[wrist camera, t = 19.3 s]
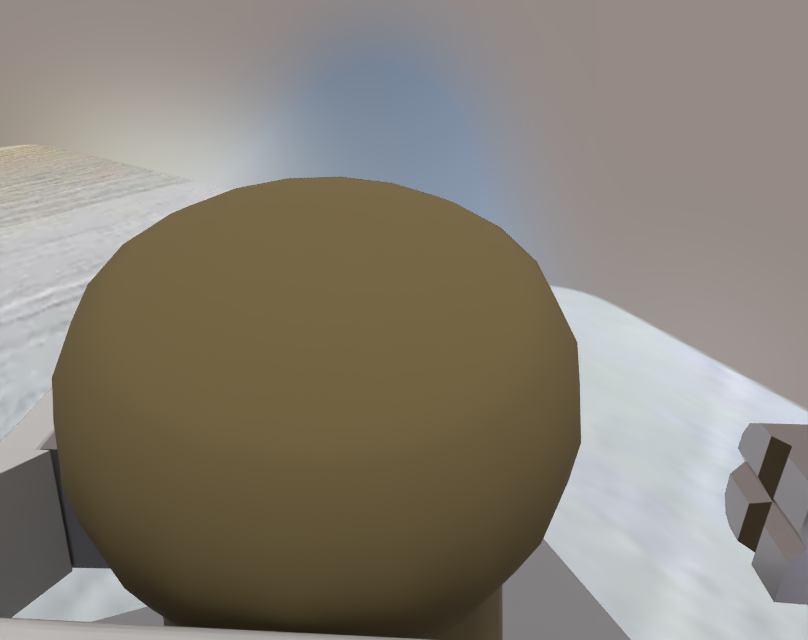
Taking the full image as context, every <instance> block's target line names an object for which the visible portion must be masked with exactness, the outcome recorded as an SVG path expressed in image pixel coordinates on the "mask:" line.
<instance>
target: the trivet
mask: <svg viewBox="0 0 808 640" xmlns="http://www.w3.org/2000/svg"><path fill="white" fill-rule="evenodd" d="M502 605H503V640H630V638H629V637H628V636H627V635H626V634H625V633H624V631H623V630H622V629H621V628H620V627H619V626H618V624H617V623H616V622H615V621H614V620H613V619H612V618H611V616H610V615H609V614H608V613H607V612H606V611H605V609H604V608H603V607H602V606H601V605H600V604H599V602H598V601H597V600H596V599H595V598H594V597H593V596H592V594H591V593H590V592H589V591H588V590H587V589H586V587H585V586H584V585H583V584H582V583H581V582H580V581H579V579H578V578H577V577H576V576H575V575H574V574H573V572H572V571H571V570H570V569H569V568H568V567H567V565H566V564H565V563H564V562H563V561H562V560H561V559H560V557H559V556H558V555H557V554H556V553H555V552H554V550H553V549H552V548H551V547H550V546H549V545H548V543H547V542H546V541H545V540H544V539H543V540H542V542H541V544H540V545H539V546H538V548H537V549H536V550H535V551H534V552H533V553H532V554H531V555H530V556H529V558H528V559H527V560H526V561H525V562H524V563H523V564H522V565H521V566H520V568H519V569H518V570H517V571H516V572H515V573H514V574H513V575H512V576H511V577H510V578H509V579H508V580H507V581H506V582H505V583H504V584H503V585H502ZM94 622H99V623H118V624H138V625H157V626H164V619H163V616H161V615H160V614H158V613H157V612H155V611H153V610H152V609H151V608H149V607H145V608H142V609H138V610H134V611H131V612H127V613H123V614H119V615H116V616H112V617H108V618H105V619H101V620H97V621H94Z"/></svg>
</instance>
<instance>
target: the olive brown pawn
mask: <svg viewBox="0 0 808 640" xmlns="http://www.w3.org/2000/svg"><path fill="white" fill-rule="evenodd" d="M52 394H53V423H54V430H55V437H56V444H57V451H58V458H59V465H60V472H61V479H62V486H63V489H64V491H65V493H66V495H67V498H68V500H69V502H70V504H71V506H72V508H73V510H74V512H75V514H76V516H77V518H78V520H79V522H80V525H81V527H82V528H83V530H84V531H85V532H86V534H87V535H88V537H89V538H90V540H91V541H92V542H93V544H94V545H95V547H96V548H97V550H98V551H99V552H100V554H101V555H102V557H103V558H104V560H105V561H106V562H107V564H108V565H109V567H110V568H111V570H112V571H113V572H114V574H115V575H116V577H117V578H118V580H119V581H120V582H121V584H122V585H123V587H124V588H125V589H126V590H128V591H129V592H130V593H131V594H133V595H134V596H135V597H137V598H138V599H139V600H140V601H142V602H143V603H144V604H145V605H147V606H148V607H149V608H151V609H152V610H153V611H155V612H157V613H158V614H160V615H161V616H163V619H164V626H177V627H196V628H216V629H235V630H255V631H275V632H294V633H314V634H333V635H353V636H372V637H392V638H411V639H431V640H503V605H502V585H503V584H504V583H505V582H506V581H507V580H508V579H509V578H510V577H511V576H512V575H513V574H514V573H515V572H516V571H517V570H518V569H519V568H520V566H521V565H522V564H523V563H524V562H525V561H526V560H527V559H528V558H529V556H530V555H531V554H532V553H533V552H534V551H535V550H536V549H537V548H538V546H539V545H540V544H541V542H542V540H543V538H544V535H545V533H546V531H547V529H548V526H549V524H550V522H551V519H552V517H553V515H554V512H555V510H556V508H557V506H558V503H559V501H560V499H561V496H562V494H563V492H564V490H565V487H566V485H567V483H568V480H569V477H570V474H571V471H572V468H573V465H574V462H575V459H576V456H577V453H578V450H579V447H580V444H581V425H580V381H579V365H578V348H577V341H576V339H575V337H574V335H573V333H572V331H571V329H570V327H569V325H568V323H567V321H566V319H565V317H564V314H563V312H562V310H561V308H560V306H559V304H558V302H557V300H556V298H555V296H554V294H553V292H552V290H551V288H550V286H549V284H548V282H547V281H546V279H545V277H544V275H543V273H542V271H541V269H540V267H539V265H538V263H537V261H536V260H534V259H533V258H532V257H531V256H530V255H529V254H528V253H527V252H526V251H525V250H524V249H523V248H522V247H521V246H520V245H519V244H518V243H517V242H515V241H514V240H513V239H512V238H511V237H510V236H509V235H508V234H507V233H506V232H505V231H504V230H503V229H502V228H500V227H499V226H497V225H495V224H493V223H491V222H489V221H488V220H486V219H484V218H482V217H480V216H478V215H476V214H474V213H473V212H471V211H469V210H467V209H465V208H463V207H461V206H460V205H458V204H456V203H453V202H451V201H448V200H446V199H443V198H440V197H437V196H434V195H431V194H427V193H424V192H420V191H417V190H413V189H410V188H407V187H403V186H400V185H397V184H393V183H388V182H379V181H371V180H363V179H355V178H346V177H319V178H293V179H292V178H290V179H283V180H278V181H272V182H267V183H262V184H257V185H251V186H246V187H241V188H236V189H233V190H230V191H228V192H225V193H222V194H220V195H217V196H215V197H212V198H209V199H207V200H204V201H201V202H199V203H196V204H193V205H191V206H188V207H186V208H183V209H181V210H179V211H176V212H174V213H172V214H170V215H168V216H167V217H165V218H164V219H162V220H160V221H159V222H157V223H156V224H154V225H153V226H151V227H150V228H148V229H146V230H145V231H143V232H142V233H140V234H139V235H137V236H136V237H134V238H132V239H131V240H129V241H128V242H126V243H125V244H123V245H122V246H121V247H120V249H119V250H118V251H117V252H116V253H115V254H114V255H113V257H112V258H111V259H110V260H109V261H108V262H107V263H106V264H105V266H104V267H103V268H102V269H101V270H100V271H99V272H98V274H97V275H96V276H95V277H94V278H93V279H92V280H91V282H90V283H89V284H88V285H87V287H86V290H85V292H84V294H83V297H82V299H81V301H80V303H79V306H78V308H77V310H76V312H75V315H74V317H73V319H72V321H71V324H70V327H69V330H68V333H67V336H66V339H65V342H64V344H63V347H62V350H61V353H60V356H59V359H58V362H57V365H56V368H55V371H54V374H53V377H52Z"/></svg>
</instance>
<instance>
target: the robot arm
mask: <svg viewBox="0 0 808 640" xmlns="http://www.w3.org/2000/svg"><path fill="white" fill-rule="evenodd" d="M738 449H739V451H740V453H741V455H742V457H743V459H744V461H745V462H744V463H743V464H742V465H740V466H739V467H738V468H737V469H736V470H734V471H733V472H732V473H731V474H730V476H729V480H728V484H727V488H726V492H725V507H726V516H727V519H728V522H729V526H730V528H731V530H732V532H733V533H734V535H735V537H736V539H737V540H738V541H739V542H740V543H742V544H743V545H745V546H746V547H748V548H749V549H751V550H752V551H754V552H755V555H754V558H753V561H752V566H753V568H754V569H755V571H756V573H757V574H758V576H759V578H760V579H761V581H762V583H763V584H764V586H765V588H766V589H767V591H768V593H769V594H770V596H771V598H772V599H773V601H774V602H780V603H793V604H806V605H808V425H799V424H764V423H750V424H749V425H748V427H747V428H746V429H745V431H744V432H743V434H742V437H741V440H740V443H739V447H738ZM72 568H110V567H109V565H108V564H107V562H106V561H105V560H104V558H103V557H102V555H101V554H100V552H99V551H98V550H97V548H96V547H95V545H94V544H93V542H92V541H91V540H90V538H89V537H88V535H87V534H86V532H85V531H84V530H83V528H82V527H81V525H80V522H79V520H78V518H77V516H76V514H75V512H74V510H73V508H72V506H71V504H70V502H69V500H68V498H67V495H66V493H65V491H64V489H63V486H62V479H61V472H60V465H59V458H58V451H57V444H56V437H55V430H54V423H53V394H52V388H51V389H50V390H49V391H48V392H47V393H46V394H45V396H44V397H43V398H42V399H41V400H40V401H39V402H38V403H37V404H36V405H35V406H34V407H33V408H32V409H31V410H30V411H29V413H28V414H27V415H26V416H25V417H24V418H23V419H22V420H21V421H20V422H19V423H18V424H17V425H16V426H15V427H14V429H13V430H12V431H11V432H10V433H9V434H8V435H7V436H6V437H5V438H4V439H3V440H2V441H1V442H0V640H431V639H411V638H392V637H372V636H353V635H333V634H314V633H294V632H275V631H255V630H235V629H216V628H196V627H177V626H157V625H138V624H118V623H99V622H79V621H60V620H40V619H21V618H11V617H13V616H14V615H15V614H17V613H18V612H19V611H21V610H22V609H23V608H25V607H26V606H27V605H28V604H30V603H31V602H32V601H34V600H35V599H36V598H38V597H39V596H40V595H42V594H43V593H44V592H45V591H47V590H48V589H49V588H51V587H52V586H53V585H55V584H56V583H57V582H59V581H60V580H61V579H62V578H64V577H65V576H66V575H68V574H69V573H70V572H72Z"/></svg>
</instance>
